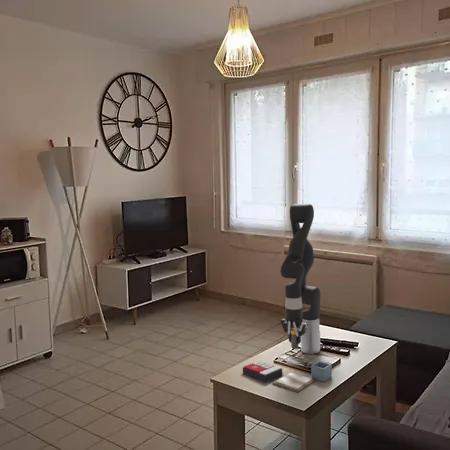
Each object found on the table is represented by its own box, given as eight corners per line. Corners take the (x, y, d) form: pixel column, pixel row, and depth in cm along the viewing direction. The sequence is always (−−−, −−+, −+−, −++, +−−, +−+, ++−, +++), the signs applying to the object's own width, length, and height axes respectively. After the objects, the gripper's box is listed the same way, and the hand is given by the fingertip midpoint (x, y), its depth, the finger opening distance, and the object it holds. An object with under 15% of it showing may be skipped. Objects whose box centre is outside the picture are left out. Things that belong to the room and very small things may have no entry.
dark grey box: (259, 359, 235) (282, 366, 223) (259, 368, 235) (283, 376, 224) (242, 366, 228) (265, 374, 216) (242, 375, 228) (265, 383, 217)
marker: (293, 345, 230) (293, 328, 229) (300, 346, 228) (299, 329, 227) (289, 347, 228) (289, 330, 227) (296, 349, 225) (295, 332, 224)
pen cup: (318, 373, 224) (318, 361, 224) (331, 377, 220) (331, 364, 219) (311, 378, 219) (311, 365, 219) (324, 382, 215) (324, 369, 215)
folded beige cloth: (290, 373, 226) (290, 370, 226) (315, 380, 217) (315, 378, 217) (272, 384, 215) (272, 381, 215) (298, 392, 207) (298, 389, 207)
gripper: (311, 306, 223) (312, 343, 226) (285, 301, 233) (286, 337, 235) (302, 311, 218) (303, 348, 220) (276, 305, 227) (277, 342, 229)
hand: (294, 342), depth 228 cm, fingers closed on marker, 3 cm apart
